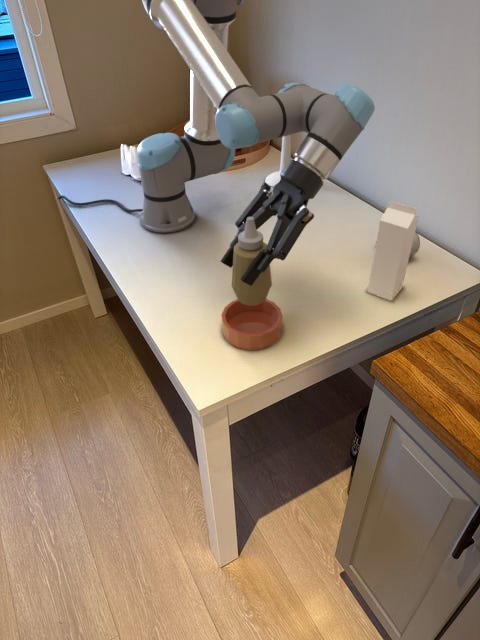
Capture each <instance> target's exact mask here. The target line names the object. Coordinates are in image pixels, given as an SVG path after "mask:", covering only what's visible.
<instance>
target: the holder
mask: <svg viewBox="0 0 480 640" xmlns="http://www.w3.org/2000/svg"><path fill="white" fill-rule="evenodd" d="M220 317H221V328H222V334H223V337H224V339H225V340H226V341H227V342H228V343H229V344H230V345H232V346H233V347H236V348H239V349H240V350H241V349H242V350H247V351H256V350H257V351H258V350H262V349H265V348H268V347H270V346H272V345H273V344H275V343H276V342H277V341H278V340H279V339H280V337H281V335H282V330H283V318H284V315H283V313H282V310H281V308H280V306H279V305H277V304H276V303H275V301H272V300H270V299H268V298H266V299H265V301H264V302H262V303H261V304H258V305H255V306H249V305H244V304H242V303H241V302H239V300H238V298H236V299H235V300H232V301H230V302H229V303H228V304H227V305H225V307H224V308H223V310H222V313H221V316H220Z"/></svg>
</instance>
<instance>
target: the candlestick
mask: <svg viewBox="0 0 480 640" xmlns="http://www.w3.org/2000/svg"><path fill="white" fill-rule="evenodd" d="M289 83H290V82H288V83H285V84H284V86H285V85H286V84H289ZM281 138H282V141H281V151H280V152H281V153H280V162H279V163H280V166H279V170H277V171H274V172H271V173H270V174H268V175H267V176H266V178H265V182H264V183H267V184H268V185H269V186H275V185H276V184H277V183H278V182H279V181H280V180H281V177H280V174H281V172H282V171H283V169H284V168H285V166H286V165H287V164H288V162H289V161H290V160H292V154H291V153H292V151H291V149H292V147H291V144H292V143H291V141H292V140H291V135H287V136H283V137H281Z"/></svg>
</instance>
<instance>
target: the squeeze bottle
mask: <svg viewBox="0 0 480 640" xmlns="http://www.w3.org/2000/svg"><path fill="white" fill-rule="evenodd" d="M266 247H267V243H266V242H265V241H264V234H263V233H262V232H261V231H260V230H258V229H257V230H256V226H255V222H254V218H253V217H247V221H246V225H245V230H244V231H243V232H241V233H240V234H239V235H238V243H237V244H236V245H235V246H234V254H233V266H232V267H231V269H232V270H231V288H232V290H233V293H234V294H235V296H236V299H238V300H239V302H241V303H242V304H244V305H249V306H255V305H258V304H261V303H262V302H264V301H265V299H267V298H268V294H269V292H270V290H271V288H272V285H273V282H272V273H271V264H270V265H269V266H268V268H267V269H266V270H265V271H264V272H263V273H262V272H261V273H260V275H259V276H258V278H257V279H256V280H255V282H254V283H253V285H252V286H250V285H248V284H246V283H245V282H243V281H241V280H240V279H241V278H242V276H243V275H244V273H245V272H246V271H247V269H248V268H249V266H250V265H251V264H252V262H253V261H254V259H255V258H256V256H257V255H258V254H259V252H260V251H263V249H266Z"/></svg>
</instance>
